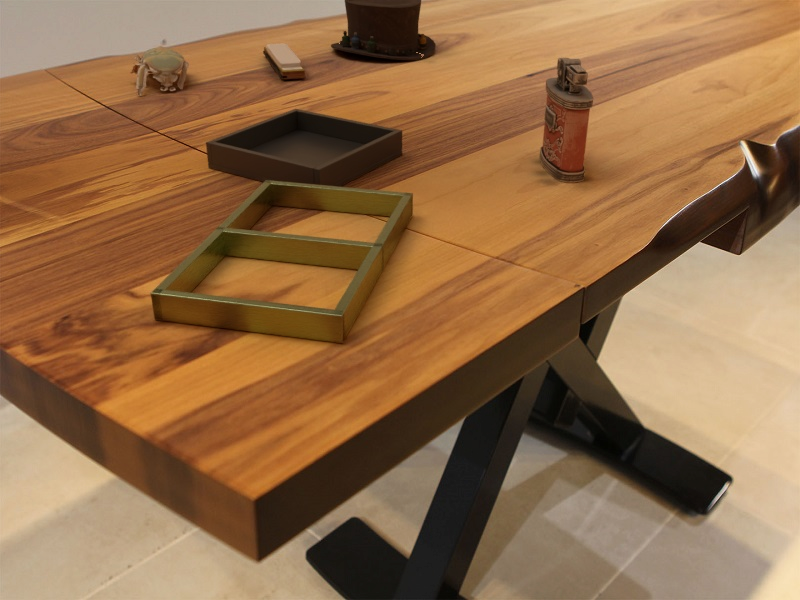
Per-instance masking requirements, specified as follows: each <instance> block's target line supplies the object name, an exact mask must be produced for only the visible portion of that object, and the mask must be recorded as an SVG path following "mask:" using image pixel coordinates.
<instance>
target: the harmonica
mask: <svg viewBox="0 0 800 600" xmlns="http://www.w3.org/2000/svg"><path fill="white" fill-rule="evenodd" d="M262 54H263V55H264V56H265V58H266V60H267V61H268V63H269V64H270V65H271V67H272V68H273V69H274V71H275V72H276V74H277V75H278V76H279V78H281V79H282V80H296V79H306V70H305V68H304V67H303V66H302V60H301V59H300V58H299V56H297V54H296V53H295V52H294V51H293V50H292V49H291V47H290V46H289V45H288V44H287V43H285V42H280V43H267V44H266V46H263V50H262Z"/></svg>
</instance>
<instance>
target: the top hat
mask: <svg viewBox="0 0 800 600" xmlns="http://www.w3.org/2000/svg"><path fill="white" fill-rule="evenodd" d="M344 6H345V13H346V14H345V15H346V20H347V30H343V32H342V34H343V35H342V36H341V40H340V41H339V42H335V43H332V44H330V48H332V49H334V50H338V51H342V52H346V53H350V54H356V55H360V56H361V55H362V56H367V57H373V58H381V59H387V60H397V61H419V60H420V61H421V60H424V59H427V58H429V57H431V56H432V55H433V54H434V53H435V51H436V43H435V40H434V39H432V38H431V37H430V36H427V35H426V34H424V33H419V22H420V21H419V20H420V13H421V7H422V0H344ZM339 43H340V44H339ZM416 52H418V53H416ZM419 53H421V54H424V56H423V57H422V56H421V54H419ZM421 57H422V58H421Z"/></svg>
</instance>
